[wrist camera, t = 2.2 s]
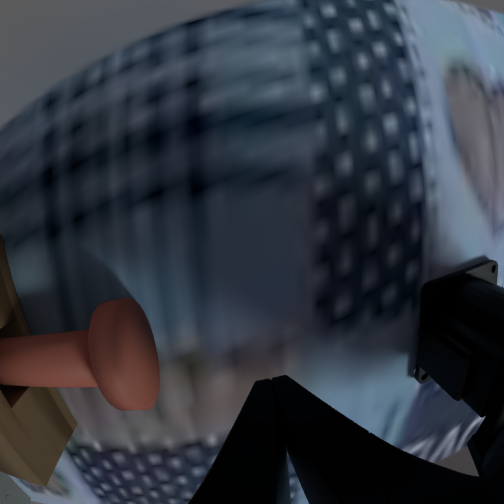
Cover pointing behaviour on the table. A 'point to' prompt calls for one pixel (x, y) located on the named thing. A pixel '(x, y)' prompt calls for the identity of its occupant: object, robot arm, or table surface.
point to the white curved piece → (11, 491)
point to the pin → (91, 357)
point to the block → (28, 405)
